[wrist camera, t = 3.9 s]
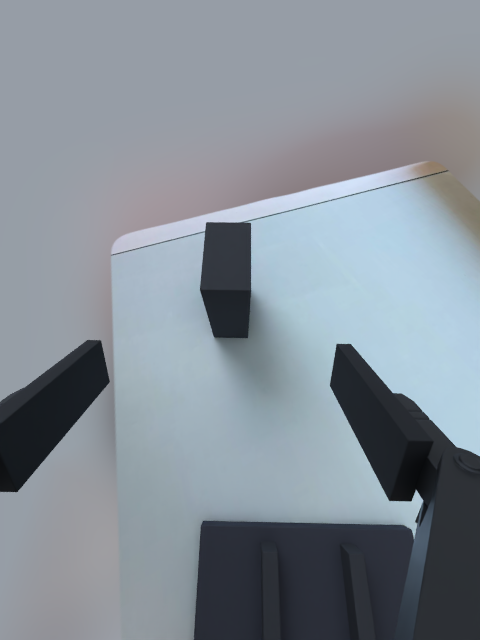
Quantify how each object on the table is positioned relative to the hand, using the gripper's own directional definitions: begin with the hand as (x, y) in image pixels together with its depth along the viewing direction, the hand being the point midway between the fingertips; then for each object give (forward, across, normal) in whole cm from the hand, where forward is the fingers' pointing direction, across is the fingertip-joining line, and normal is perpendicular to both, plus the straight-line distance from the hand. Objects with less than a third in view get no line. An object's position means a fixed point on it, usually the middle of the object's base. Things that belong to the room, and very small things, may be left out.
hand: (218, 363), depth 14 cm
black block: (+17, 0, -3) cm, 17 cm away
